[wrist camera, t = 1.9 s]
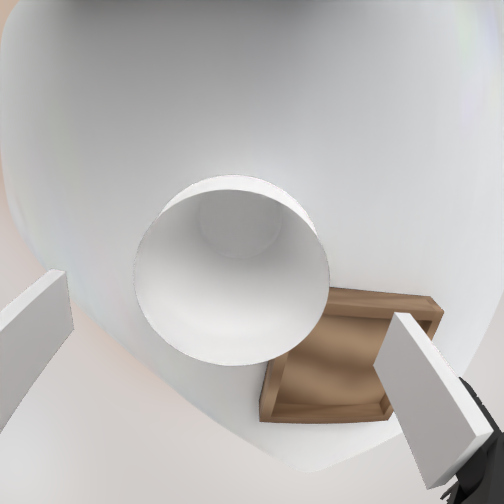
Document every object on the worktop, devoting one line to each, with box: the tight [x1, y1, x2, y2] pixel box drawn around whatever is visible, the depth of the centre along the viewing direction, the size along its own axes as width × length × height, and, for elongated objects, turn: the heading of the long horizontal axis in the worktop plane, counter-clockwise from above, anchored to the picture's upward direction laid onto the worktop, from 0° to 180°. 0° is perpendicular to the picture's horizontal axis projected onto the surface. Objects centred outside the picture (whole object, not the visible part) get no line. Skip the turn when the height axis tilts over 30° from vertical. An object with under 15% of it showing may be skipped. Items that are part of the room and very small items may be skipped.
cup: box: [134, 175, 330, 366], centre depth 19 cm, size 9×9×12 cm
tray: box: [259, 287, 444, 424], centre depth 28 cm, size 15×15×3 cm
